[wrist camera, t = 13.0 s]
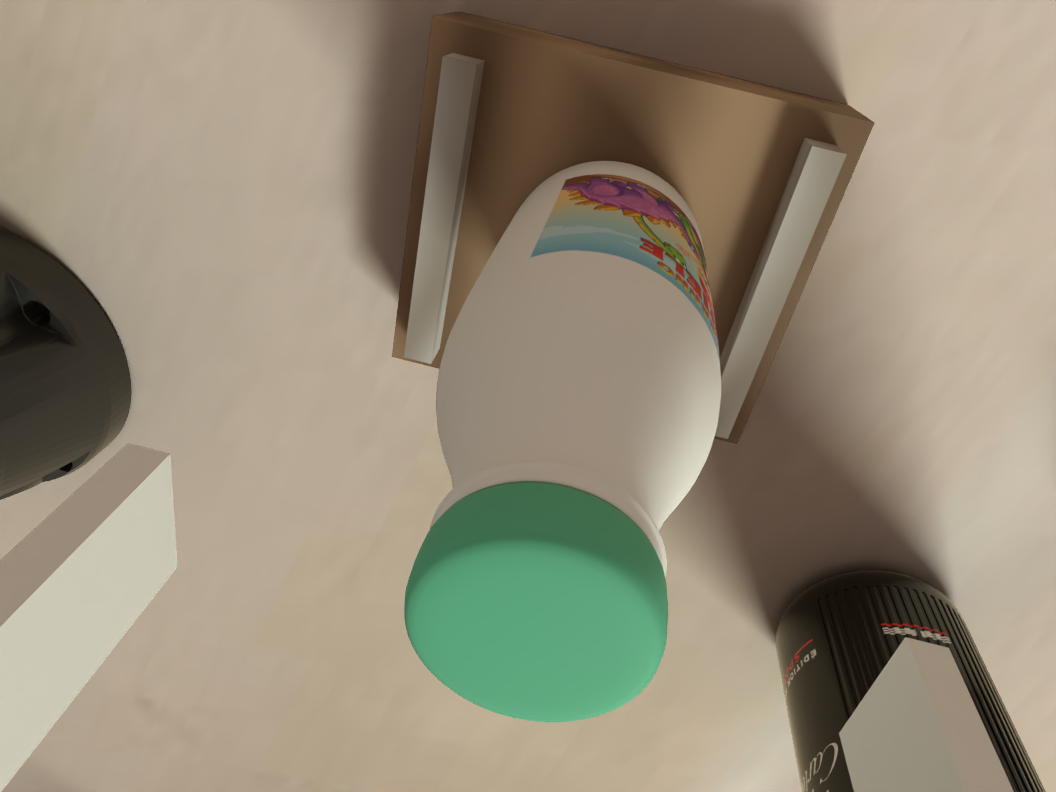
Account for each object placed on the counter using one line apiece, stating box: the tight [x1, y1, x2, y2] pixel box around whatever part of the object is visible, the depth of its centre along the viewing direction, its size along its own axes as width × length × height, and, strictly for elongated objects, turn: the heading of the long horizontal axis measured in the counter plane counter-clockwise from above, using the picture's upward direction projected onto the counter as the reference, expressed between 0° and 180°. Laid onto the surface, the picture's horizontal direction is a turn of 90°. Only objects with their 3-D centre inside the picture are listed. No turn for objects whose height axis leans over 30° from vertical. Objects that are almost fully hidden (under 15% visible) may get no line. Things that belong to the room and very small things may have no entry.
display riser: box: [392, 12, 874, 444], centre depth 31 cm, size 16×14×6 cm
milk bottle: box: [405, 161, 721, 722], centre depth 21 cm, size 8×8×20 cm
